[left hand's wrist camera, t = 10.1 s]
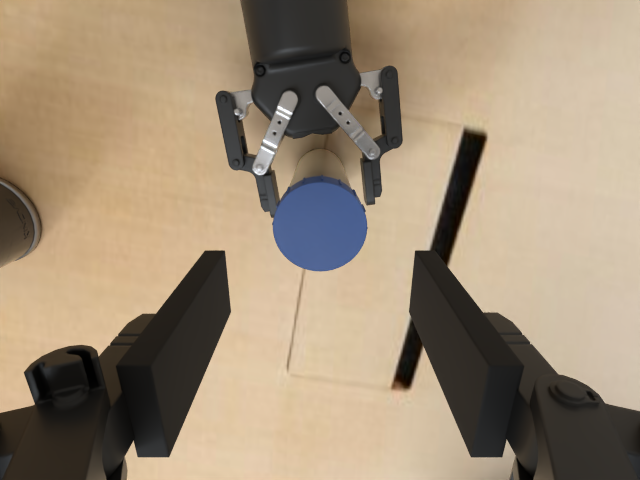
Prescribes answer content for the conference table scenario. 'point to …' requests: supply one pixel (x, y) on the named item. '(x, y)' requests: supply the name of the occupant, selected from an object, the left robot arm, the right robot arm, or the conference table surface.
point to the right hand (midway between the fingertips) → (323, 208)
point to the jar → (319, 166)
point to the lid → (320, 223)
